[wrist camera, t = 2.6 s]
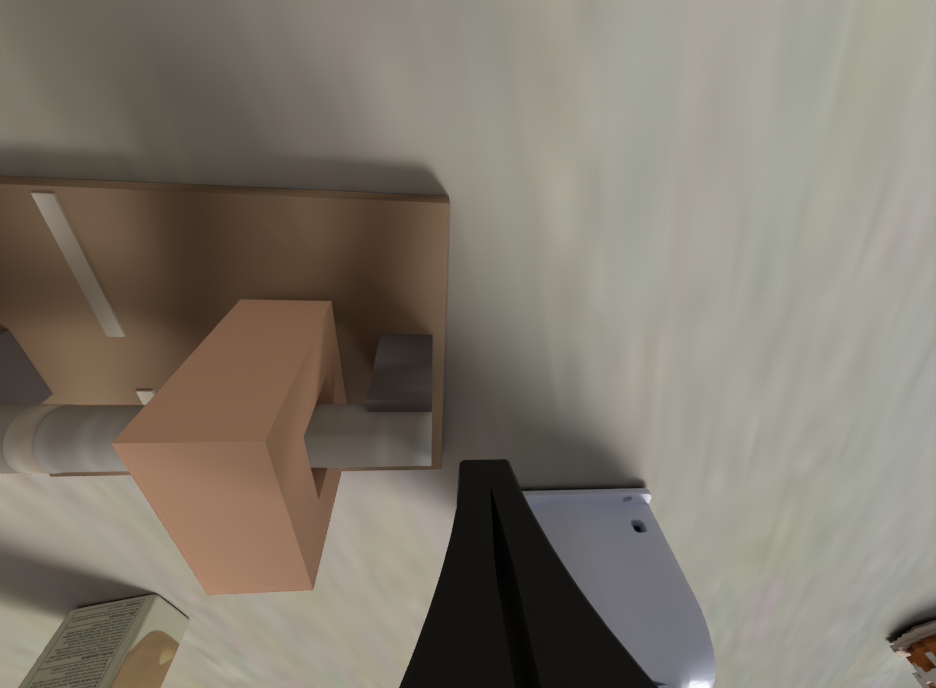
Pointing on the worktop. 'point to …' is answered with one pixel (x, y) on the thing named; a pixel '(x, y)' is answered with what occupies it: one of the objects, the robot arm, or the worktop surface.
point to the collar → (244, 448)
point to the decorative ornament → (920, 652)
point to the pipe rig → (212, 310)
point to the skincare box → (111, 646)
